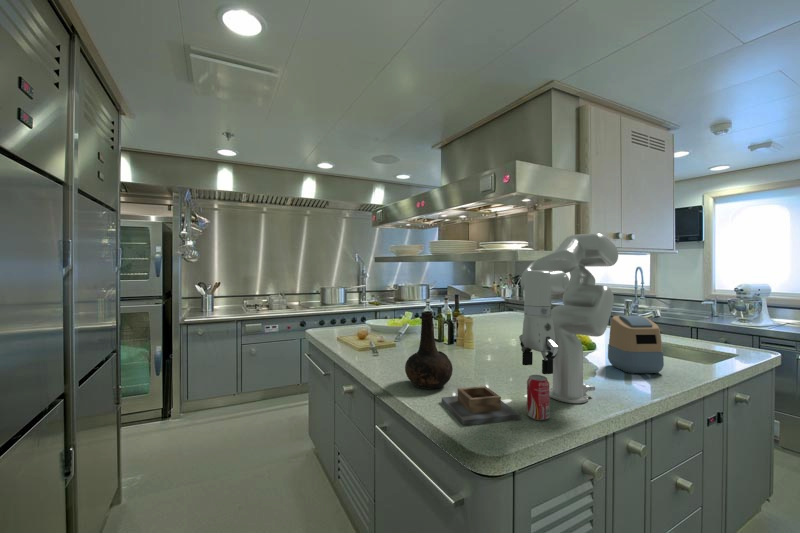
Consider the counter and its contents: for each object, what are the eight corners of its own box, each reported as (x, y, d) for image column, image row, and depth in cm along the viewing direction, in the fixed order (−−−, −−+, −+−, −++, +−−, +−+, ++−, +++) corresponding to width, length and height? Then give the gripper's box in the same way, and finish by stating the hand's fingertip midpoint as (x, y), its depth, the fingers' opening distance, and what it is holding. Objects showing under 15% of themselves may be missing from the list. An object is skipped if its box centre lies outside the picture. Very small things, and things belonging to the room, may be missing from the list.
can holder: (490, 397, 120) (490, 381, 121) (520, 419, 103) (520, 400, 103) (441, 401, 116) (441, 385, 116) (463, 425, 99) (463, 406, 99)
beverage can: (527, 411, 108) (527, 373, 108) (549, 414, 106) (549, 375, 106) (526, 419, 103) (526, 379, 103) (549, 423, 100) (549, 381, 100)
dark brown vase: (462, 387, 130) (461, 312, 130) (422, 397, 121) (422, 316, 121) (433, 375, 145) (433, 308, 145) (396, 382, 136) (396, 310, 136)
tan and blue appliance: (628, 375, 144) (628, 319, 144) (604, 364, 161) (604, 314, 161) (668, 375, 145) (668, 319, 145) (640, 364, 161) (639, 314, 161)
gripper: (568, 315, 97) (568, 377, 96) (531, 308, 114) (530, 361, 113) (544, 315, 95) (544, 378, 95) (510, 308, 112) (510, 362, 111)
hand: (537, 369), depth 104 cm, fingers open, 9 cm apart
